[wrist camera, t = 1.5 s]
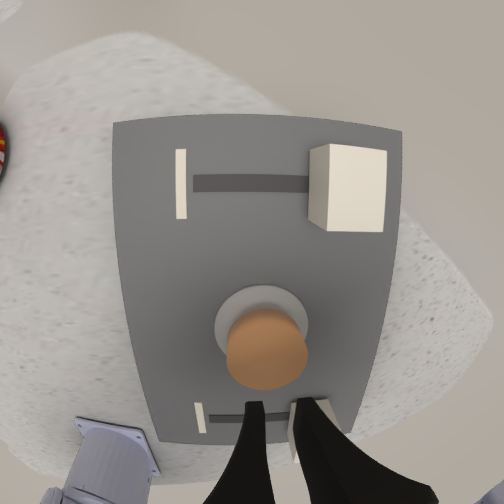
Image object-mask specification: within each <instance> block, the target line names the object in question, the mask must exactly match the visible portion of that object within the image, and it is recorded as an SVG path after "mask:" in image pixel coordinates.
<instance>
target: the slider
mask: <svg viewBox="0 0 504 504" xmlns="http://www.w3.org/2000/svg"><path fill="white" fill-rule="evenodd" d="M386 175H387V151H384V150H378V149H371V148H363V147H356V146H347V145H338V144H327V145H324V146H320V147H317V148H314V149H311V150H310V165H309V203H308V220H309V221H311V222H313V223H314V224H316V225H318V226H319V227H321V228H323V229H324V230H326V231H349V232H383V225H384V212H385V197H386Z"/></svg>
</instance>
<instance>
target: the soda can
mask: <svg viewBox="0 0 504 504" xmlns="http://www.w3.org/2000/svg"><path fill="white" fill-rule="evenodd" d="M4 154H5V140H4V134H3V130H2V128H1V126H0V174H1V171H2V167H3V162H4Z"/></svg>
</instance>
